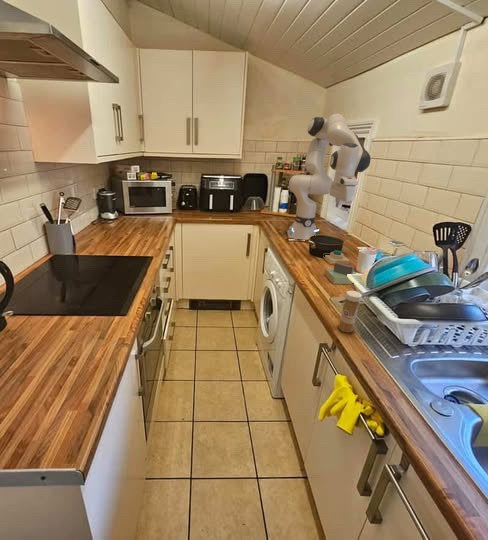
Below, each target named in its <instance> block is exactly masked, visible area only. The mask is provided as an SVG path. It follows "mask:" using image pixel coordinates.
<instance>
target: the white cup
mask: <svg viewBox="0 0 488 540" xmlns="http://www.w3.org/2000/svg"><path fill="white" fill-rule="evenodd" d="M377 255H378V253H377V252H376V251H375V250H372V249H367V248H361V249H359V250H358V253H357V259H356V266H355V271H356V273H360V274H364V272H365V271H366V270H367V269H368V268H369V267H370V266H371V265H372V264H373V263H374V264H375V263H376V262H375V261H376V258H377Z"/></svg>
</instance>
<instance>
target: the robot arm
mask: <svg viewBox="0 0 488 540" xmlns="http://www.w3.org/2000/svg"><path fill="white" fill-rule="evenodd" d="M307 133H308V135H309V136H310V137H314V138H312V140H311V141H310V143H309V145H308V148H307V151H306V156H305V162H304V168H305V170H306V171H307V172H308V173H310V174H295V175H292V176H291V178H290V179H289V181H288V189H289V190H290V192H291V193H293V194H294V197H295V198H296V201H297V211H296V216H295V218H294V221H293V222H291V225H289V226H288V230H287V231H286V235H287V238H289V239H294V240H297V239H309V238H310V237H311V236H314V235H315V236H316V232H319V231H320V229H317V225H316V224H315V223H316V213H317V203H316V202H315V201H314V200H313V199H310V197H309V196H308V195H316V196H324V195H329V196H331V197H333V198H335V208H336V209H342V208H343V207H342V206H343V205H344V202H345V203H352V202H353V201H354V198H355V195H356V191H357V186H358V184H359V181H358V179H357V178H356V176H355V174H356V173H363V172H364V171H366V170H367V169H368V168H369V167H370V164H371V159H372V158H371V155H370V153H369V152H368V150H366V149H365V147H364V144H363V143H362V141H361V139H360V138H359V136H358V134H356V133H355V132H353V131H352V130H351V129H350V128H349V127H348V123H347V120H346V118H345V117H344V116H343V115H342V113H341V114H340V113H333V114H331V115H330V116H329V117H328V118H324V117H320V116H315V117H313V118H312V119H311V120H310V122H309V124H308V126H307ZM328 146H330V147H333V146H334V147H340V148H339V149H338V150H336V151H334V152H333V153H332V154H331V156H330V161H329V167H330V168H331V169H332V170H333V171H335V172H334V177H333V179H332V177H330V176H329V175H328V174H327V172H326V171H325V160H326V153H327V149H328V148H327V147H328Z"/></svg>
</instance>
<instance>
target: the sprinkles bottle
mask: <svg viewBox="0 0 488 540" xmlns="http://www.w3.org/2000/svg"><path fill="white" fill-rule="evenodd" d="M362 295H363V294H362V293H360V292H359V291H356V290H347V291H346V293H345V296H344V297H345V299H344V303H343V307H342V310H341V315H340V320H339V324H338V329H339V330H340V331H341V332H343V333H352V332H353V331H354V326H355V322H356V319H357V315H358V311H359V306H360V302H361V301H362V298H363V296H362Z"/></svg>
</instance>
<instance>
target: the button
mask: <svg viewBox="0 0 488 540" xmlns="http://www.w3.org/2000/svg"><path fill="white" fill-rule="evenodd" d="M333 252H334V253H333V254H335V255H341V253H342V251H341V250H338V249H334V250H333Z"/></svg>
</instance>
